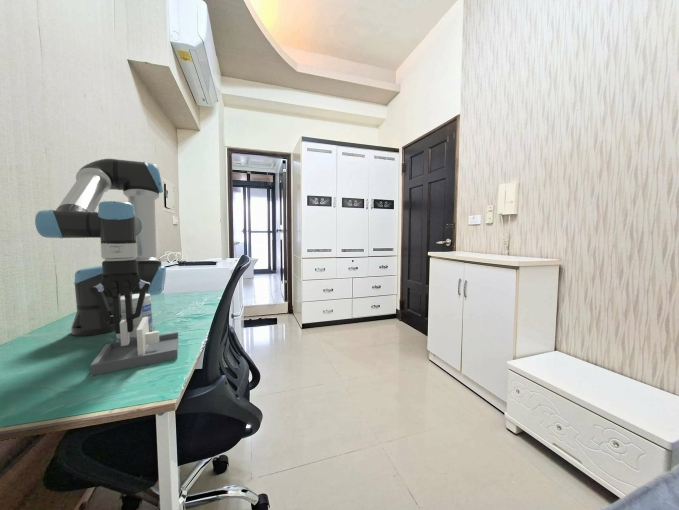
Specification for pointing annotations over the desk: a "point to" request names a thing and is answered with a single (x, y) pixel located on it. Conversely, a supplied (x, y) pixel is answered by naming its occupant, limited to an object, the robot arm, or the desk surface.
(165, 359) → the gray tray
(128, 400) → the desk surface
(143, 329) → the pusher
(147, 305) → the supplement tub
